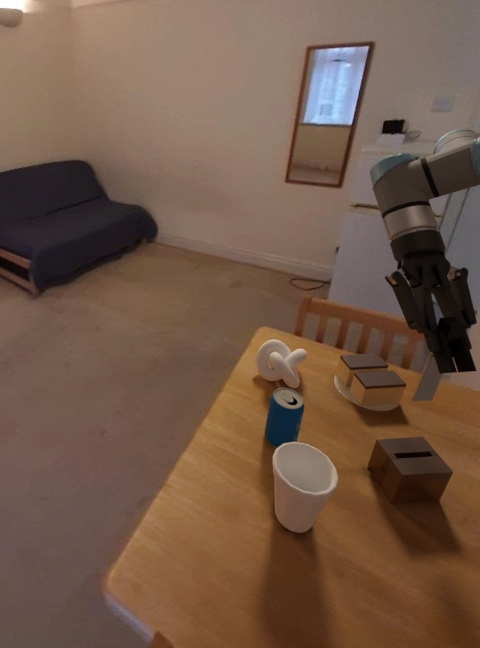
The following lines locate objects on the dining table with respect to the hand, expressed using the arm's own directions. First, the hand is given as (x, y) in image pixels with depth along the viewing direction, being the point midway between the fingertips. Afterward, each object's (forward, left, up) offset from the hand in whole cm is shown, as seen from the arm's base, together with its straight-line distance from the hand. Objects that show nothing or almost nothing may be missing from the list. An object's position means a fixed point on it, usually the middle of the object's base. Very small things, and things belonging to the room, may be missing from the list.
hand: (457, 372), depth 64 cm
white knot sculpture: (+26, -21, -28) cm, 44 cm away
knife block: (+1, 0, -28) cm, 28 cm away
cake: (+6, -24, -27) cm, 36 cm away
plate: (+6, -24, -28) cm, 37 cm away
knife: (+2, -3, -10) cm, 11 cm away
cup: (+19, +15, -28) cm, 37 cm away
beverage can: (+23, -1, -28) cm, 36 cm away
